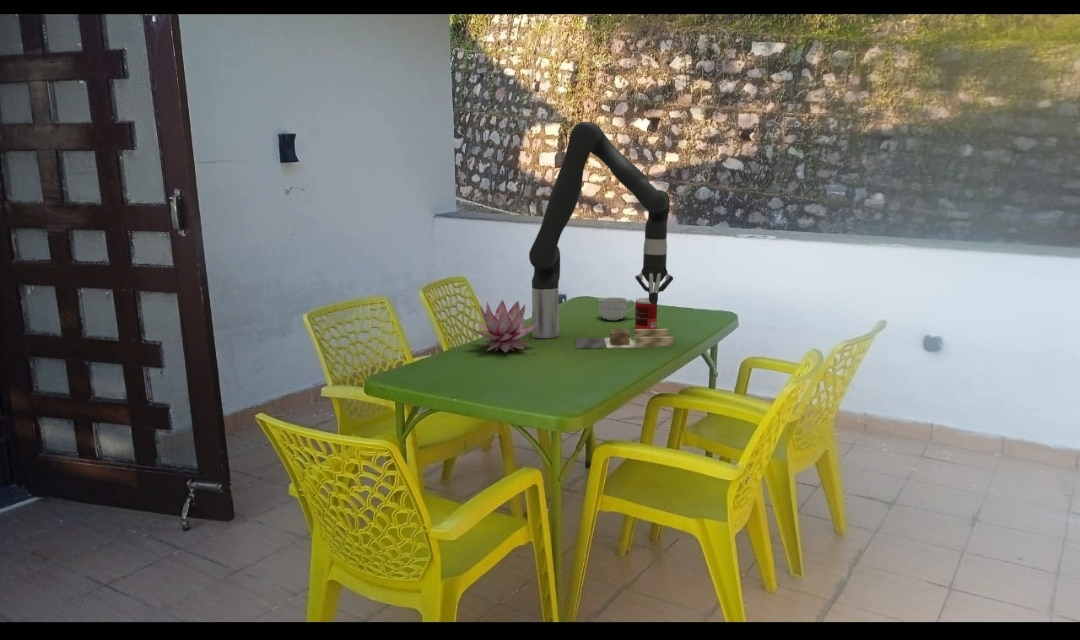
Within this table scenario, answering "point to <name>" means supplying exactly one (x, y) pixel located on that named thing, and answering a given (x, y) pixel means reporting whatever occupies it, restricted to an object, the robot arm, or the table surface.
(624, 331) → the walnut block
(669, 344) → the corridor track
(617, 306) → the teacup
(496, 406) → the table surface
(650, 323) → the canned food
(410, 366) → the table surface
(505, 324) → the decorative flower
